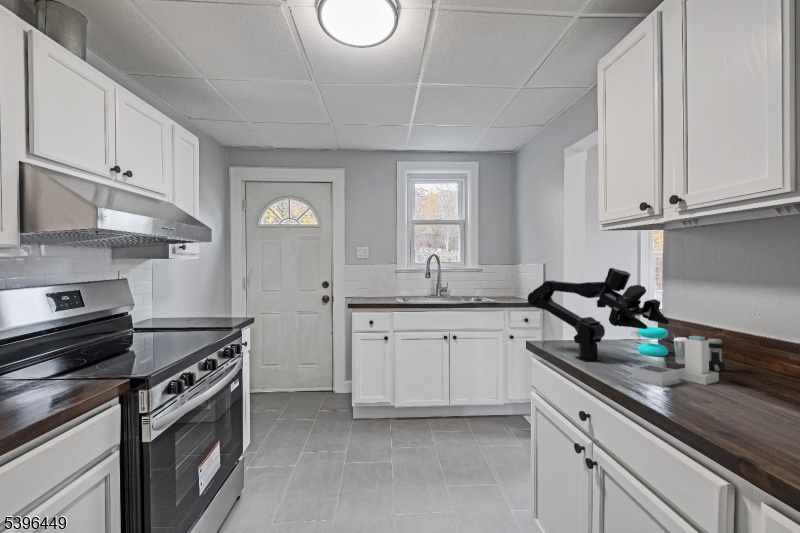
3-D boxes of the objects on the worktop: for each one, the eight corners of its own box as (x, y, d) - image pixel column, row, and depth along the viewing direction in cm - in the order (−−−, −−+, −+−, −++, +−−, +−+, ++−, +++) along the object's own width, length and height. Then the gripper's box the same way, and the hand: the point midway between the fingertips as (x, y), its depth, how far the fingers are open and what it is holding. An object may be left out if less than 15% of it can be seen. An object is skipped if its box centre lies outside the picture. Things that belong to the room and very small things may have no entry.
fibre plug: (685, 378, 122) (684, 336, 122) (692, 376, 124) (692, 335, 124) (701, 382, 118) (701, 338, 118) (708, 380, 120) (708, 337, 120)
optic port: (628, 378, 123) (628, 367, 123) (648, 374, 127) (647, 363, 127) (662, 387, 114) (662, 375, 114) (682, 382, 118) (682, 370, 118)
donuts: (660, 326, 159) (673, 330, 150) (660, 351, 160) (673, 357, 150) (633, 326, 161) (644, 330, 151) (633, 350, 161) (645, 356, 151)
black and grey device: (704, 371, 130) (704, 340, 130) (696, 367, 135) (696, 337, 135) (728, 372, 128) (728, 341, 128) (720, 368, 133) (719, 338, 133)
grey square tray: (675, 377, 123) (675, 369, 123) (689, 374, 126) (689, 366, 126) (705, 384, 116) (705, 376, 116) (718, 381, 119) (718, 372, 119)
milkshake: (677, 360, 144) (677, 333, 144) (692, 364, 139) (692, 335, 139) (668, 361, 143) (668, 333, 143) (683, 365, 138) (683, 336, 138)
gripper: (601, 284, 131) (642, 306, 118) (643, 277, 137) (687, 298, 124) (593, 313, 136) (632, 338, 122) (635, 306, 142) (676, 328, 128)
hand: (657, 325), depth 124 cm, fingers open, 9 cm apart
